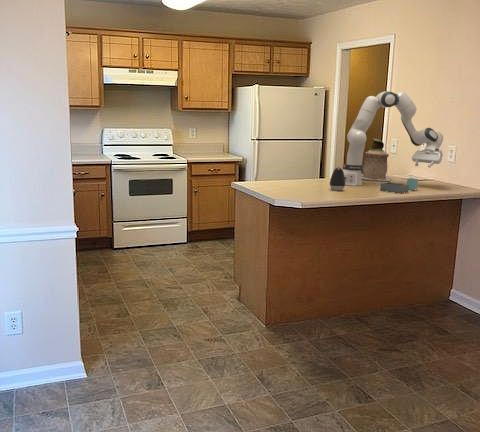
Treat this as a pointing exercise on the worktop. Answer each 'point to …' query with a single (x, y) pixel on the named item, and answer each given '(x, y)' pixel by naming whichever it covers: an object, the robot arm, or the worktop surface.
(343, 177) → the black tapered dome
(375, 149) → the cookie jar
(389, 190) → the charcoal crate
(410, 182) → the teal crate
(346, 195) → the worktop surface
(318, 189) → the worktop surface
